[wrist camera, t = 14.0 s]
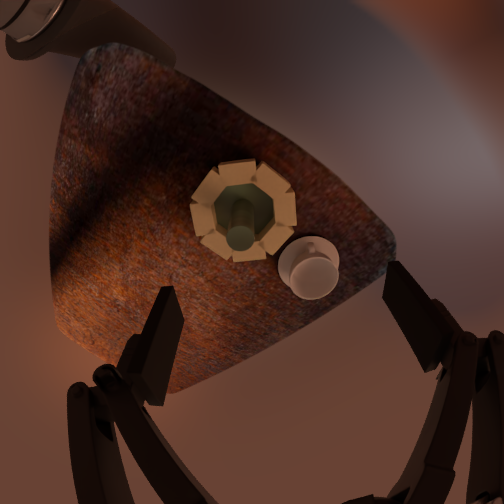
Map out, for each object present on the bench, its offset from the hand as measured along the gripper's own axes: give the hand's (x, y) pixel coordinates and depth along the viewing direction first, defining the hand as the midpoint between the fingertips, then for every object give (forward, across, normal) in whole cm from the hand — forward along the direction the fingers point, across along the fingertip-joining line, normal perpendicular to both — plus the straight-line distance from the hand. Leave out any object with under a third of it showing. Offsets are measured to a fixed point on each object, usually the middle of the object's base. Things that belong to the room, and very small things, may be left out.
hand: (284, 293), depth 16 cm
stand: (+25, -3, -2) cm, 25 cm away
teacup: (+25, +6, -13) cm, 28 cm away
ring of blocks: (+23, -3, -2) cm, 23 cm away
